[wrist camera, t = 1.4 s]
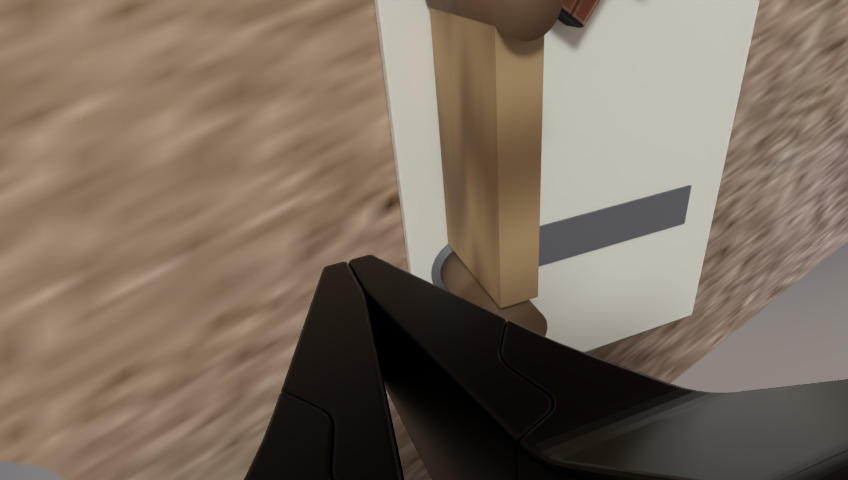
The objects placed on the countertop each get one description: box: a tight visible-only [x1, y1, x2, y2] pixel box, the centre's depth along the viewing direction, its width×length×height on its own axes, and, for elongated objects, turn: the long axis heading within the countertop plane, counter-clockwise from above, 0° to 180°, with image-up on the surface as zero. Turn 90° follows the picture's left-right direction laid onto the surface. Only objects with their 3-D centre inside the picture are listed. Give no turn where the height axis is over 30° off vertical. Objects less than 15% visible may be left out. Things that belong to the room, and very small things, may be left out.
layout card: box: [374, 0, 760, 352], centre depth 25 cm, size 20×17×1 cm
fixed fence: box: [440, 251, 547, 336], centre depth 24 cm, size 9×2×5 cm, turn 6°
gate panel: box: [426, 0, 562, 308], centre depth 18 cm, size 11×2×6 cm, turn 6°
